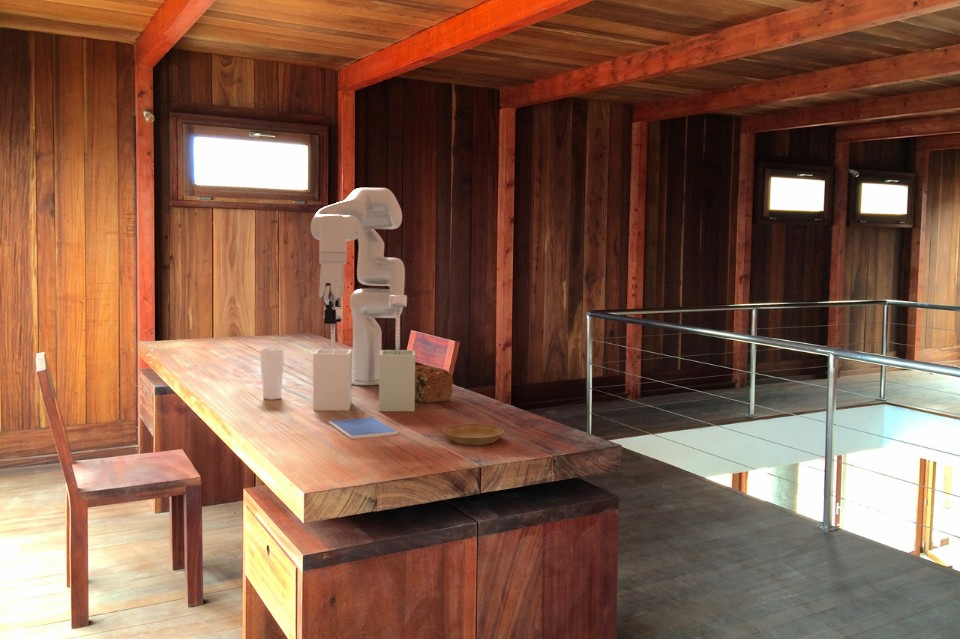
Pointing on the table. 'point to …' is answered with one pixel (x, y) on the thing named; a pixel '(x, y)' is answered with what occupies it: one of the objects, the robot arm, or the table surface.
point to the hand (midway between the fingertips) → (332, 322)
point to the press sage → (397, 380)
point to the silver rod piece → (397, 316)
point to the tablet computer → (362, 428)
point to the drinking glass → (272, 372)
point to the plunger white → (338, 316)
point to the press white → (332, 379)
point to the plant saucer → (473, 433)
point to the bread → (432, 384)
